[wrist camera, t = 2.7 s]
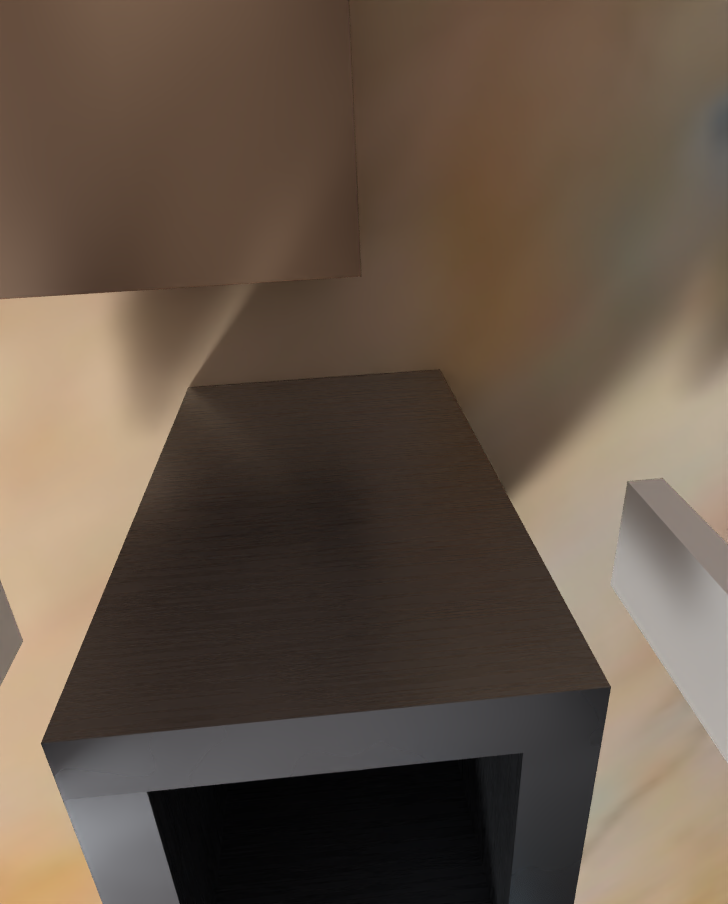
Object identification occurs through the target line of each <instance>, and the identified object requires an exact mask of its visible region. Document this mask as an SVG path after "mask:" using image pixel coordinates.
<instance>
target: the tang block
mask: <svg viewBox="0 0 728 904" xmlns="http://www.w3.org/2000/svg"><path fill="white" fill-rule="evenodd" d="M358 276H361V260H360V238H359V216H358V194H357V172H356V150H355V129H354V107H353V85H352V63H351V41H350V19H349V0H0V299H10V298H26V297H42V296H58V295H73V294H89V293H105V292H121V291H137V290H153V289H168V288H184V287H200V286H216V285H232V284H248V283H263V282H279V281H295V280H311V279H327V278H343V277H358Z"/></svg>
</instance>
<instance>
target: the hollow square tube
mask: <svg viewBox="0 0 728 904" xmlns="http://www.w3.org/2000/svg"><path fill="white" fill-rule="evenodd" d="M610 690H611V686H610V685H609V683H608V681H607V679H606V677H605V675H604V673H603V672H602V670H601V668H600V666H599V664H598V662H597V660H596V659H595V657H594V655H593V653H592V651H591V649H590V647H589V646H588V644H587V642H586V640H585V638H584V636H583V634H582V633H581V631H580V629H579V627H578V625H577V623H576V621H575V620H574V618H573V616H572V614H571V612H570V610H569V609H568V607H567V605H566V603H565V601H564V599H563V597H562V596H561V594H560V592H559V590H558V588H557V586H556V584H555V583H554V581H553V579H552V577H551V575H550V573H549V571H548V570H547V568H546V566H545V564H544V562H543V560H542V558H541V557H540V555H539V553H538V551H537V549H536V547H535V545H534V544H533V542H532V540H531V538H530V536H529V534H528V533H527V531H526V529H525V527H524V525H523V523H522V521H521V520H520V518H519V516H518V514H517V512H516V510H515V508H514V507H513V505H512V503H511V501H510V499H509V497H508V495H507V494H506V492H505V490H504V488H503V486H502V484H501V482H500V481H499V479H498V477H497V475H496V473H495V471H494V469H493V468H492V466H491V464H490V462H489V460H488V458H487V456H486V455H485V453H484V451H483V449H482V447H481V445H480V444H479V442H478V440H477V438H476V436H475V434H474V432H473V431H472V429H471V427H470V425H469V423H468V421H467V419H466V418H465V416H464V414H463V412H462V410H461V408H460V406H459V405H458V403H457V401H456V399H455V397H454V395H453V393H452V392H451V390H450V388H449V386H448V384H447V382H446V380H445V379H444V377H443V375H442V373H441V371H440V370H428V371H414V372H400V373H386V374H372V375H358V376H344V377H330V378H316V379H302V380H287V381H273V382H259V383H245V384H231V385H217V386H203V387H189V388H188V390H187V392H186V394H185V397H184V399H183V402H182V404H181V407H180V409H179V411H178V414H177V416H176V419H175V421H174V423H173V426H172V428H171V431H170V433H169V436H168V438H167V440H166V443H165V445H164V448H163V450H162V452H161V455H160V457H159V460H158V462H157V464H156V467H155V469H154V472H153V474H152V477H151V479H150V481H149V484H148V486H147V489H146V491H145V493H144V496H143V498H142V501H141V503H140V506H139V508H138V510H137V513H136V515H135V518H134V520H133V522H132V525H131V527H130V530H129V532H128V535H127V537H126V539H125V542H124V544H123V547H122V549H121V551H120V554H119V556H118V559H117V561H116V563H115V566H114V568H113V571H112V573H111V576H110V578H109V580H108V583H107V585H106V588H105V590H104V592H103V595H102V597H101V600H100V602H99V605H98V607H97V609H96V612H95V614H94V617H93V619H92V621H91V624H90V626H89V629H88V631H87V633H86V636H85V638H84V641H83V643H82V646H81V648H80V650H79V653H78V655H77V658H76V660H75V662H74V665H73V667H72V670H71V672H70V675H69V677H68V679H67V682H66V684H65V687H64V689H63V691H62V694H61V696H60V699H59V701H58V703H57V706H56V708H55V711H54V713H53V716H52V718H51V720H50V723H49V725H48V728H47V730H46V732H45V735H44V737H43V740H42V742H41V745H42V747H43V750H44V753H45V755H46V758H47V760H48V763H49V766H50V768H51V771H52V773H53V776H54V779H55V781H56V784H57V786H58V789H59V791H60V794H61V797H62V799H63V802H64V804H65V807H66V810H67V812H68V815H69V817H70V820H71V823H72V825H73V828H74V830H75V833H76V836H77V838H78V841H79V843H80V846H81V849H82V851H83V854H84V856H85V859H86V862H87V864H88V867H89V869H90V872H91V875H92V877H93V880H94V882H95V885H96V888H97V890H98V893H99V895H100V898H101V901H102V903H103V904H574V899H575V893H576V887H577V882H578V876H579V870H580V864H581V858H582V853H583V847H584V841H585V835H586V829H587V823H588V818H589V812H590V806H591V800H592V794H593V789H594V783H595V777H596V771H597V765H598V759H599V754H600V748H601V742H602V736H603V730H604V725H605V719H606V713H607V707H608V701H609V695H610Z"/></svg>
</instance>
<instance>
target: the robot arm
mask: <svg viewBox="0 0 728 904" xmlns="http://www.w3.org/2000/svg"><path fill="white" fill-rule="evenodd" d="M611 587H612V588H613V590H614V591H615V593H616V594H617V596H618V597H619V599H620V600H621V602H622V603H623V605H624V606H625V608H626V609H627V611H628V613H629V614H630V616H631V617H632V619H633V620H634V622H635V623H636V625H637V626H638V628H639V629H640V631H641V632H642V634H643V635H644V637H645V638H646V640H647V641H648V643H649V645H650V646H651V648H652V649H653V651H654V652H655V654H656V655H657V657H658V658H659V660H660V661H661V663H662V664H663V666H664V667H665V669H666V670H667V672H668V673H669V675H670V677H671V678H672V680H673V681H674V683H675V684H676V686H677V687H678V689H679V690H680V692H681V693H682V695H683V696H684V698H685V699H686V701H687V702H688V704H689V705H690V707H691V709H692V710H693V712H694V713H695V715H696V716H697V718H698V719H699V721H700V722H701V724H702V725H703V727H704V728H705V730H706V731H707V733H708V734H709V736H710V737H711V739H712V741H713V742H714V744H715V745H716V747H717V748H718V750H719V751H720V753H721V754H722V756H723V757H724V759H725V760H726V762H727V763H728V544H727V543H726V542H725V541H724V540H723V539H722V538H721V537H720V536H719V535H718V534H717V533H716V532H715V531H714V530H713V529H712V528H711V527H710V526H709V525H708V524H707V523H706V522H705V521H704V520H703V519H702V518H701V516H700V515H699V514H698V513H697V512H696V511H695V510H694V509H693V508H692V507H691V506H690V505H689V504H688V503H687V502H686V501H685V500H684V499H683V498H682V497H681V496H680V495H679V494H678V493H677V492H676V491H675V490H674V489H673V488H672V487H671V486H670V485H669V484H668V483H667V482H666V481H665V480H664V479H663V478H660V479H648V480H636V481H627V488H626V494H625V500H624V506H623V512H622V518H621V524H620V530H619V536H618V543H617V549H616V555H615V561H614V567H613V573H612V579H611ZM22 642H23V640H22V637H21V634H20V632H19V629H18V626H17V624H16V621H15V618H14V616H13V613H12V610H11V608H10V605H9V602H8V600H7V597H6V594H5V592H4V589H3V586H2V583H1V581H0V685H1V683H2V681H3V680H4V678H5V676H6V674H7V672H8V670H9V668H10V666H11V664H12V662H13V660H14V658H15V656H16V654H17V652H18V650H19V648H20V646H21V644H22Z"/></svg>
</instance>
